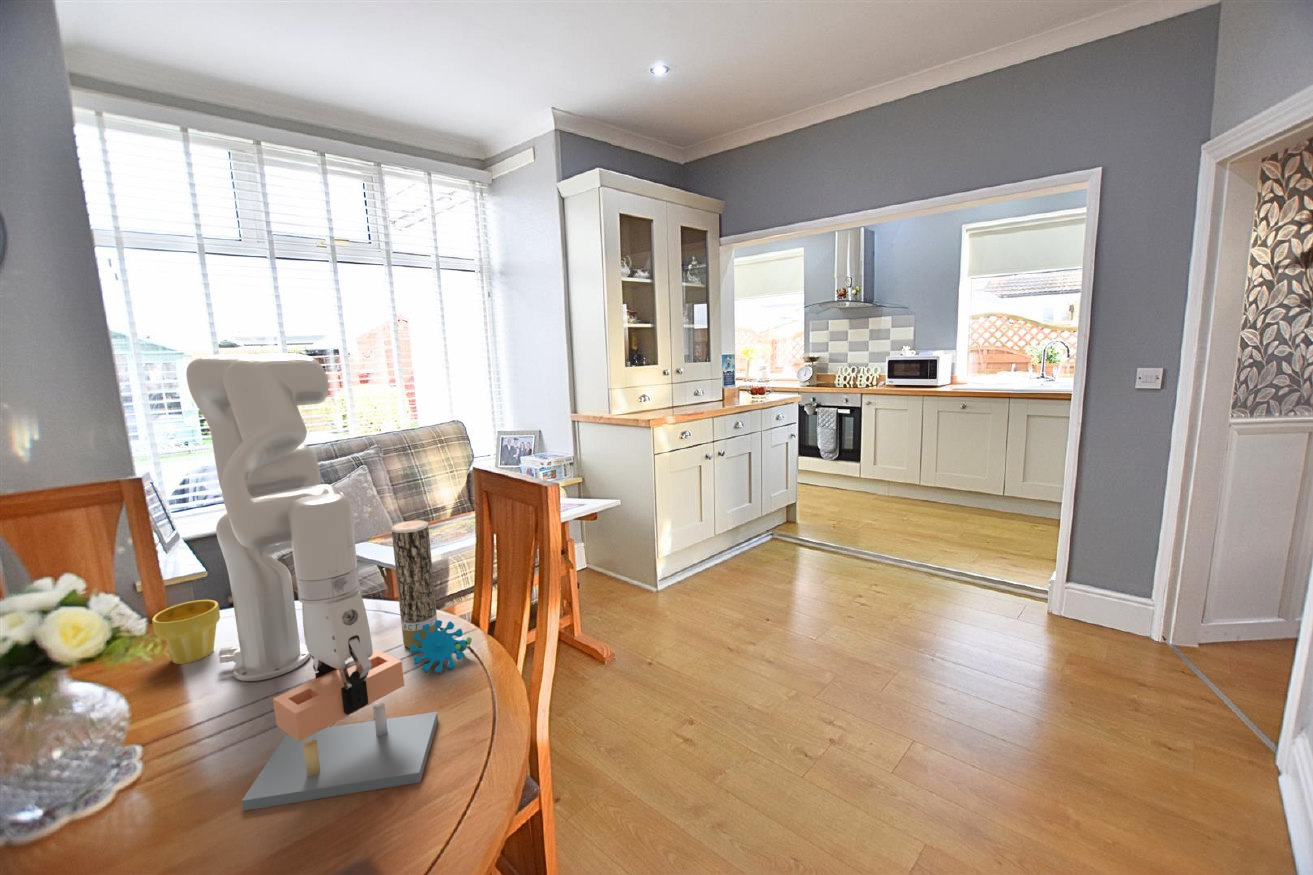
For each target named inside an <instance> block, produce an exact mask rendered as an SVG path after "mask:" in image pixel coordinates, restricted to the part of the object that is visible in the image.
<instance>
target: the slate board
mask: <svg viewBox="0 0 1313 875" xmlns="http://www.w3.org/2000/svg"><path fill="white" fill-rule="evenodd" d="M385 704H386V703H385V702H376V703H374V705H373V706H372V709H373V710H372V711H373V717H374V720H370V721H363V722H354V723H347V724H341V725H334V726H328V727H326V728H324V729H322V730H320V731H319V732H317V733H315V734H313V735H311V736H309V737H307V738H306V739H304V740H302V741H300V742H299V741H298V740H296V739H295V738H293V737H292V736H291V735H289V734H288V733H286V734H285V736H284V737H283V739H282V740H281V741H280V743H279V744H278V746H277V747H276V749H275V751H274V752H273V754H272V755H271V756H270V758H269V759H268V761H267V762H266V764H265V765H264V767H263V769H262V770H261V771H260V773H259V774H258V776H257V777H256V779H255V780H254V781H253V783H252V785H251V786H250V787H249V789H248V790H247V792H246V793H245V795H244V797H243V798H242V799H241V807H242V811H243V812H245V811H251V810H257V809H264V808H269V807H270V808H271V807H276V806H282V805H289V804H294V803H301V802H308V801H314V800H319V799H325V798H326V799H327V798H332V797H338V796H343V795H344V796H345V795H349V794H350V795H351V794H355V793H356V794H357V793H362V792H368V791H374V790H382V789H386V788H393V787H400V786H405V785H412V784H417V783H421V781H422V777H423V774H424V770H425V767H426V765H427V764H426V763H427V760H428V756H429V752H430V749H431V747H432V746H431V745H432V742H433V740H434V735H435V733H436V728H437V724H438V721H439V719H438V718H439V717H438V711H433V712H432V711H431V712H426V713H419V714H413V715H406V716H405V715H404V716H398V717H390V718H387V713H386V705H385Z"/></svg>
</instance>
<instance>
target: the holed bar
mask: <svg viewBox="0 0 1313 875" xmlns="http://www.w3.org/2000/svg"><path fill="white" fill-rule="evenodd" d="M369 660H370V662H371V664H372V667H371V669H370V670H369V672H368V675H367V680H366V686H367V694H368V704H367V705H366V706H364V707H362V708H360V709H359V710H362V709H363V708H365V707H367V706H369V705H371V704H372V703H375V702H376V701H378V700H380V699H381V698H383V697H386V696H387V695H388V696H389V695H390V694H392V693H393V692H396V691H397V690H398V689H401V688H402V687H404V686H405V678H404V670H403V668H404V667H403V660H401V659H398V658H396V657H394V656H392V655H390V654H388V653H385V652H384V651H381V650H379V649H377V650H375V651H373V653H372V656H371V657H369ZM347 671H348V674H349V677H350V676H351V674H352V673H353V672H354V671H356V666H355V665H354V666H352V667H350V668H348V669H347ZM343 687H344V684H343V681H342V678H341V675H340V672H339V669H336V670H334V671H332V672H330V673H328V674H325V675H323V676H321V677H318V678H316V677H315V679H312V680H310V681H308V682H305V683H304V684H302V685H299V686H297V687H295V688H292V689H290V690H288V691H286V692H284V693H282V694H280V695H278V696H275V697H273V698H272V703H273V709H274V710H273V711H274V716H275V722H276V726H277V727H278V728H279V729H281V730H282V731H284V732H285V733H286V734H287V733H288V734H289V735H291V736H292V737H293V738H295V739H296V740H298V741H299V742H300V741H302V740H304V739H306V738H307V737H309V736H311V735H313V734H315V733H317V732H319V731H320V730H322V729H324V728H326V727H331V725H333V724H336V723H337V722H339V721H341V720H343V719H345V718H347V717H348V716H351V715H353V714H354V713H356V712H358V711H359V710H357V711H355V712H353V713H351V714H349V715H346V714H345V713H344V708H343V699H342V691H341V688H343Z"/></svg>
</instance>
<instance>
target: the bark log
mask: <svg viewBox="0 0 1313 875" xmlns="http://www.w3.org/2000/svg"><path fill="white" fill-rule="evenodd" d="M428 523H429V522H428V521H426V520H419V519H418V520H408V521H402V522H398V523H396V524H394V525H392V526H391V535H392V545H393V546H392V547H393V556H394V564H395V565H394V566H395V573H396V574H395V576H396V585H397V594H398V603H399V605H398V606H399V613H400V623H401V624H400V626H401V631H402V632H401V633H402V641H403V645H404V646H405V647H406V648H409V649H410V648H411V646H412V644H415V645H416V646H417V647H418V648H422V647H423V646H422V644H421V643H420V642H418V641H415V640H414V639H413V636H414V635H415V634H416V633H420V635H421V639H422V640H424V639H426V633H425V632H424V631H423V629H422V627H423V625H426V624H429V625H430V629H429V631H428V632H429V633H433V632H434V630H435V621H436V620H438V614H437V605H436V604H437V603H436V602H437V601H436V593H435V582H434V581H435V580H434V574H433V573H434V572H433V571H434V570H433V560H432V549H431V540H430V529H429V524H428Z"/></svg>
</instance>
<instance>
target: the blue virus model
mask: <svg viewBox="0 0 1313 875" xmlns="http://www.w3.org/2000/svg"><path fill="white" fill-rule="evenodd" d="M442 626H443V620H438V619H437V620H436V621H435V630H434V632H433V633H429V632H428V631H429V629H430V625H429V624H426V625H423V627H422V629H423V631H424V632H425V633H426V639H424V640H422V639H421V635H420V633H416V634H415V635H414V636H413V639H414V640H415V641H418V642H420V643H421V644H422V646H423V647H422V648H418V647H417V646H416V645H415V644H412V646H411V648H409V649H410V650H409V653H412V654H413V653H420V654H422V655H423V656H422V657H421V656H418V655H415V656H414V657H413V664H414V665H415V666H416V665H419V664H420V663H422V662H423V661H426V660H428V661H430V662H428V663H425V664H423V665H422V666H421V670H423V672H424V673H428V672H429V671H430V669H431V667H432V665H433V664H435V663H439V664H438V665H437V666H436V667H435V669H434V673H435V674H442V673H443V663H444V662H445V660H448V663H447V669H448V670H451V669H454V668H455V666H456V662H454V661H453V658H452V654H456V659H457V660H458V661H460V660H462V659H463V657H464V655H465V653H464V652H465V651H466V649H467V647H468V646H469V645H471V644H472V642H473V641H472V640H473V639H472V638H471V637H470V636H469V637H467V638H466V639H461V640H457V639H456V638H453V637H455V636H456V637H458V638H460V637H463V635H464V634H463V630H462V628H458V629H456V630H455V631H454V632H447V631H448V630H452V629H454V628H455V624H454V623H453V622H452V621H448V623H447V624H446V626H445V627H444V628H443V629H442V630H439V629H440V628H441V627H442ZM441 672H442V673H441Z"/></svg>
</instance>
